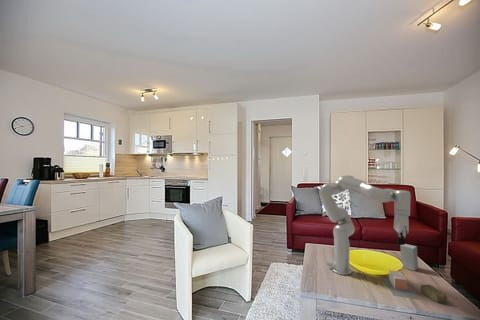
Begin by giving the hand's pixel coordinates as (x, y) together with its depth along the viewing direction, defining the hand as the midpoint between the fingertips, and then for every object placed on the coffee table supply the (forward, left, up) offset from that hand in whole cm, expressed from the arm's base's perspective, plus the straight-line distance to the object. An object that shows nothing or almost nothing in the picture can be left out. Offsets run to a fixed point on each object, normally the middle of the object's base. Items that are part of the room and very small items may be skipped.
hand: (401, 244), depth 133 cm
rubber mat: (+1, +4, -27) cm, 27 cm away
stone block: (+15, -1, -28) cm, 31 cm away
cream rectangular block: (+1, +2, -24) cm, 24 cm away
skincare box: (+17, +38, -27) cm, 49 cm away
